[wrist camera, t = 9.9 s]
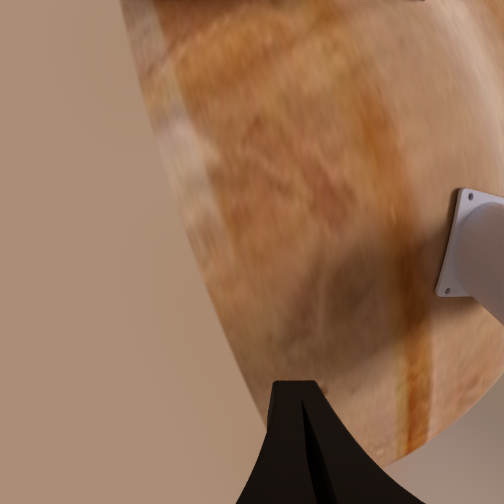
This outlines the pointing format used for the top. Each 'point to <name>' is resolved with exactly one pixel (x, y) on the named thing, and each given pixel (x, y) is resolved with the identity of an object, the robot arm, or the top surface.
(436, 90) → the top surface
